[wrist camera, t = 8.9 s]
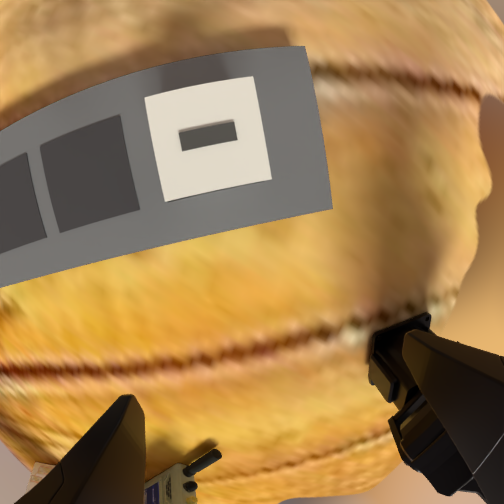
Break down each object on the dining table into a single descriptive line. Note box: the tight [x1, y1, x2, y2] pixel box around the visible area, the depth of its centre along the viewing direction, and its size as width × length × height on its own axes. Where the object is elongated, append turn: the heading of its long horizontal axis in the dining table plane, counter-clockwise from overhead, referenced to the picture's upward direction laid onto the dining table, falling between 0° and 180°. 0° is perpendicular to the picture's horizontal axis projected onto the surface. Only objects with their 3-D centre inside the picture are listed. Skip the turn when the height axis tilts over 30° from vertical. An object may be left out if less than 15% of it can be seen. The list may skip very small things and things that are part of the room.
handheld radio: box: [144, 449, 222, 504], centre depth 24 cm, size 7×3×25 cm
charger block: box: [145, 76, 272, 202], centre depth 13 cm, size 4×4×7 cm
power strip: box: [0, 46, 333, 288], centre depth 15 cm, size 33×10×3 cm, turn 100°
